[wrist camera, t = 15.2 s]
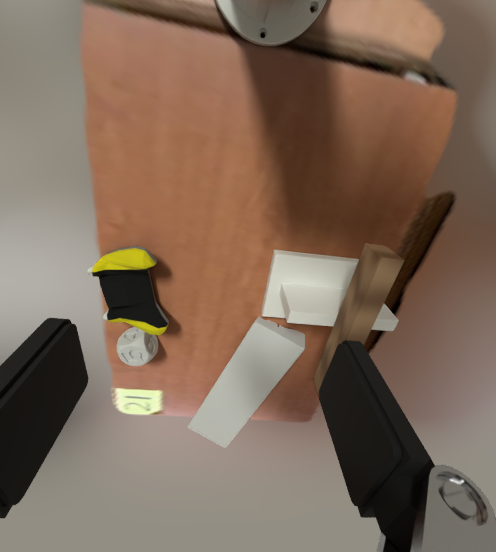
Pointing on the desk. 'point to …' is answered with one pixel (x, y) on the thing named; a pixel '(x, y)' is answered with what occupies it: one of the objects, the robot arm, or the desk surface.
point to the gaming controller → (130, 289)
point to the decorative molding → (247, 380)
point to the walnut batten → (361, 301)
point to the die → (137, 347)
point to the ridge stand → (312, 289)
